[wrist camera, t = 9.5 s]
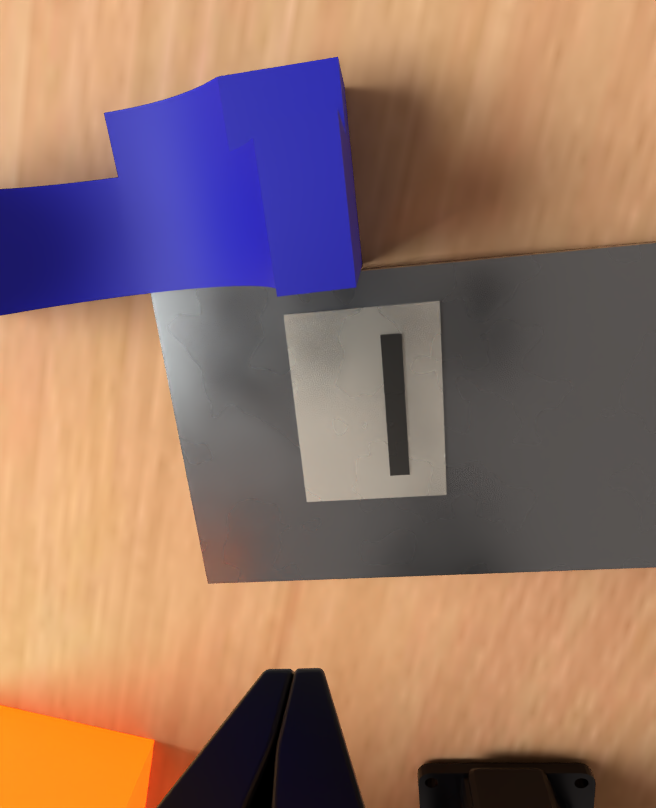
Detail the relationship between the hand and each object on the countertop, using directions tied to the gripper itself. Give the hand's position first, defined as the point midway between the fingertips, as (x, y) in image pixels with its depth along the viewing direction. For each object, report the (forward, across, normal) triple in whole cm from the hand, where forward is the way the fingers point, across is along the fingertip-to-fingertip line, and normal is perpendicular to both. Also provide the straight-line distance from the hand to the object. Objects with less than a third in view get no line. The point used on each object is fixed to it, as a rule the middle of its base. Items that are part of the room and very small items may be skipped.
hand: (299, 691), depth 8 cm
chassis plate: (+10, -6, 0) cm, 12 cm away
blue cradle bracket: (+10, +5, -7) cm, 14 cm away
